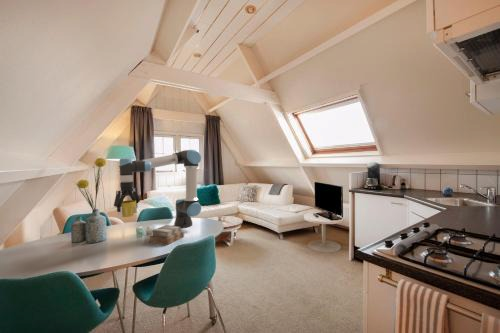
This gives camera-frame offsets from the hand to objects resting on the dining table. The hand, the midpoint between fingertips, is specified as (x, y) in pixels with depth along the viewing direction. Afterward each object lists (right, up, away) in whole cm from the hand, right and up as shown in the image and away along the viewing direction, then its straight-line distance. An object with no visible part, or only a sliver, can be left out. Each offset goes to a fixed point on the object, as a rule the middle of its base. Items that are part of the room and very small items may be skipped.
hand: (127, 214), depth 148 cm
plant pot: (0, -1, 0) cm, 1 cm away
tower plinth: (+23, -20, +10) cm, 32 cm away
